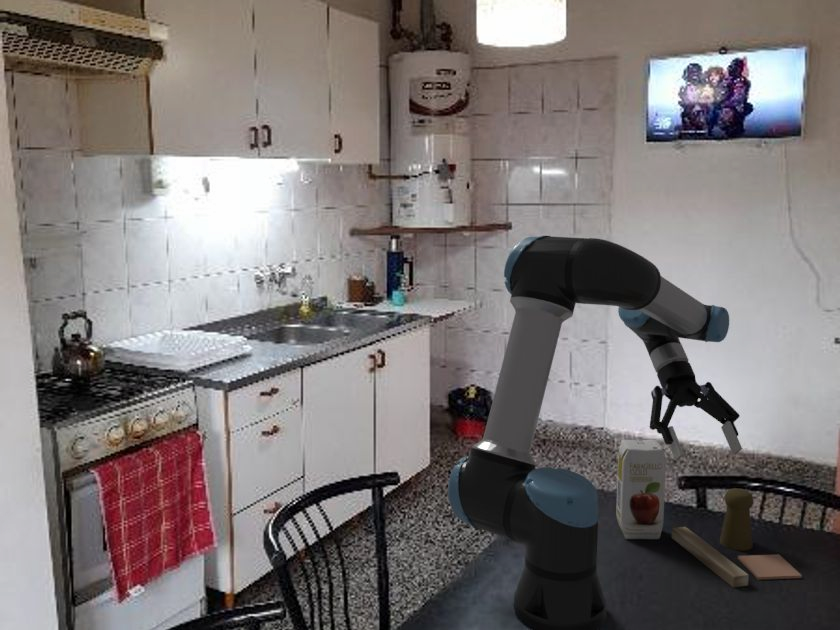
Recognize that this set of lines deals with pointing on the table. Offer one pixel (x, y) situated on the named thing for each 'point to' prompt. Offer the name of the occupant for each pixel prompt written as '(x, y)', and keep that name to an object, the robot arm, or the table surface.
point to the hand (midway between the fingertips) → (708, 454)
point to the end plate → (769, 567)
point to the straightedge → (710, 557)
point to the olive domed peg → (737, 520)
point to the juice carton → (641, 489)
